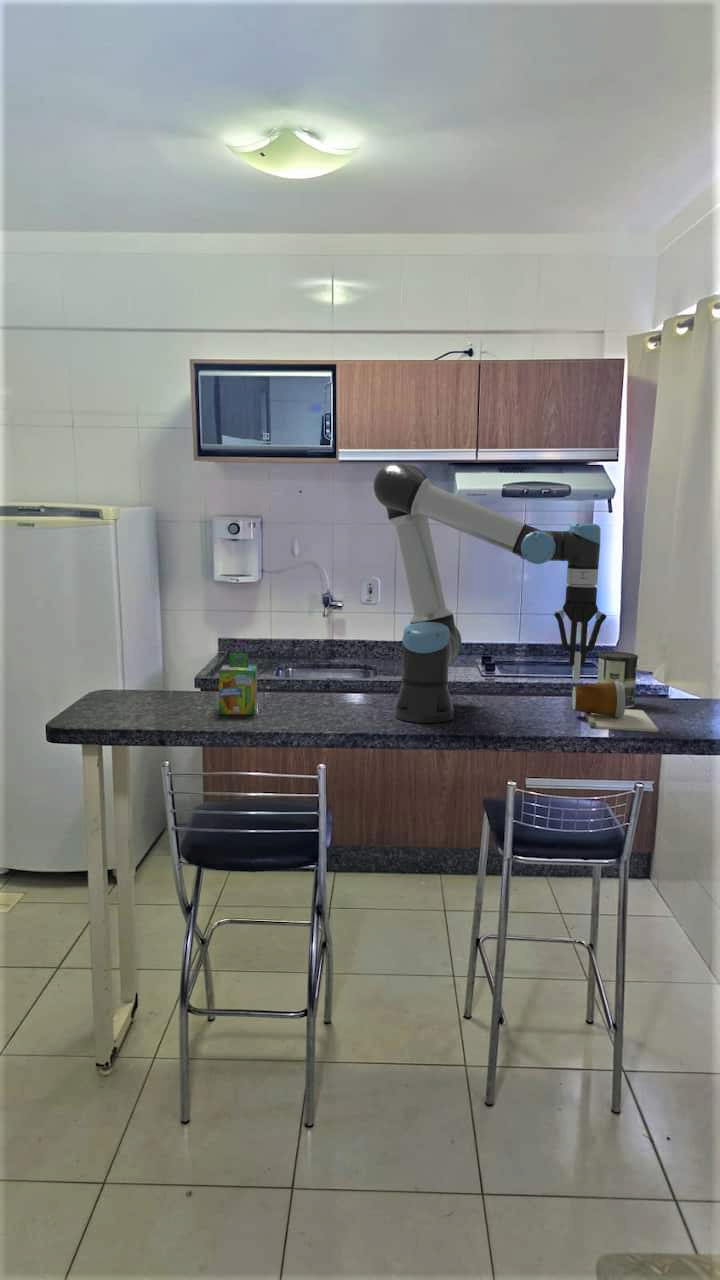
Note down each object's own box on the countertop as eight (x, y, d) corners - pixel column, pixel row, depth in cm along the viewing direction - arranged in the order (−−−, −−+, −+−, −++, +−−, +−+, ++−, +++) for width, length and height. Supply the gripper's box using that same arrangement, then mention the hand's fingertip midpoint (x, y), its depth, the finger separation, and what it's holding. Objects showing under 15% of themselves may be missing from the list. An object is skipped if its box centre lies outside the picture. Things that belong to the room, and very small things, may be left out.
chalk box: (218, 715, 200) (218, 657, 197) (222, 706, 209) (221, 651, 206) (255, 715, 200) (255, 657, 198) (257, 707, 209) (257, 651, 207)
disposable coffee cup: (570, 708, 211) (617, 709, 209) (575, 722, 202) (624, 723, 200) (572, 674, 208) (619, 675, 207) (577, 687, 199) (627, 688, 197)
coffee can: (626, 700, 226) (630, 651, 224) (639, 709, 216) (643, 658, 214) (590, 699, 226) (593, 650, 224) (601, 708, 216) (605, 657, 214)
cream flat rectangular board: (590, 728, 195) (590, 722, 195) (580, 708, 215) (581, 703, 215) (658, 732, 193) (659, 726, 193) (642, 712, 212) (643, 706, 212)
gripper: (556, 585, 198) (550, 679, 201) (610, 587, 196) (604, 682, 199) (553, 583, 205) (548, 673, 209) (606, 585, 203) (600, 676, 207)
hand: (575, 677), depth 204 cm, fingers closed
